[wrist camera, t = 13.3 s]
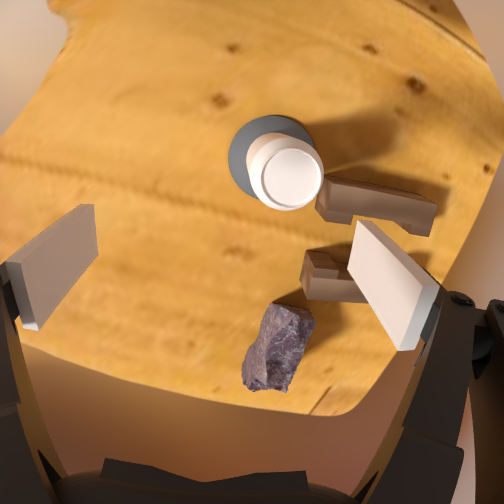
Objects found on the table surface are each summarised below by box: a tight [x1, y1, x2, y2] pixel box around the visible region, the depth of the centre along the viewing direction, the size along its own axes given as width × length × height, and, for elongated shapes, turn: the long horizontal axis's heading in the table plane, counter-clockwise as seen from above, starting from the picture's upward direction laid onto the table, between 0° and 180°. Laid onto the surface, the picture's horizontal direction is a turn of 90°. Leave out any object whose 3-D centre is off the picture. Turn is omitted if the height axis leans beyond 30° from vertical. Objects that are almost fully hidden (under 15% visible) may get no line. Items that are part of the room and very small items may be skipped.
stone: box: [242, 303, 316, 393], centre depth 42 cm, size 10×6×15 cm
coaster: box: [228, 116, 315, 200], centre depth 36 cm, size 10×10×1 cm
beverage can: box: [246, 133, 324, 210], centre depth 30 cm, size 6×6×12 cm
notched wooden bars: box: [300, 175, 438, 303], centre depth 38 cm, size 14×14×5 cm
